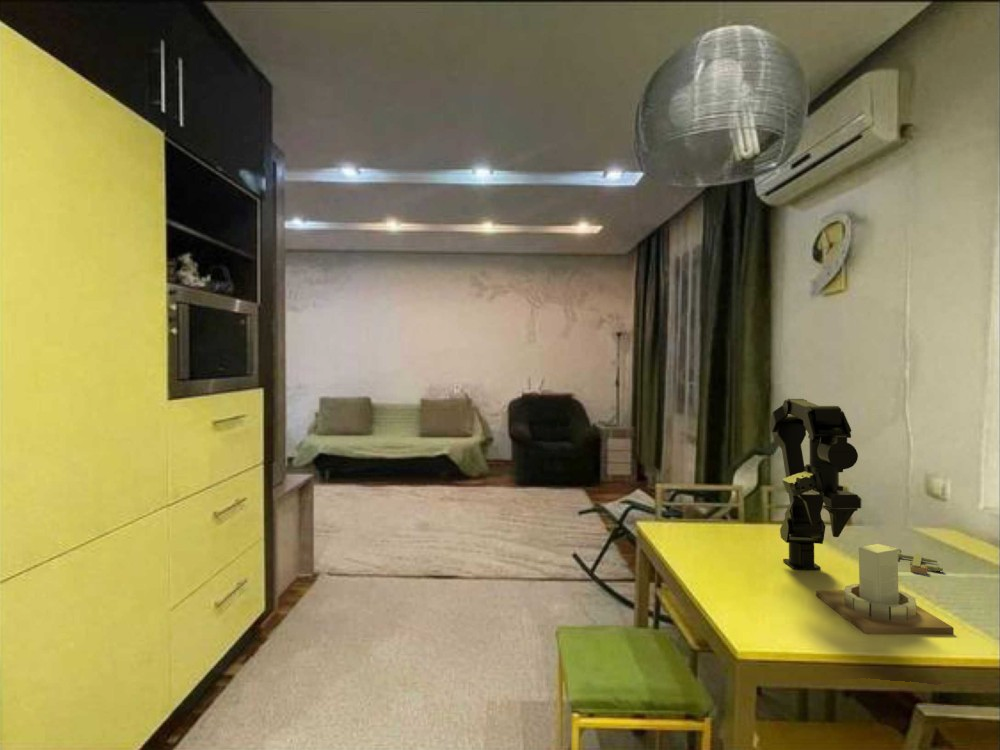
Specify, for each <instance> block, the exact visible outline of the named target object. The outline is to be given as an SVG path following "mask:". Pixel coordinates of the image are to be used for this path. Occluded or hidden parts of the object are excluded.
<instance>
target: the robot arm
mask: <svg viewBox="0 0 1000 750" xmlns="http://www.w3.org/2000/svg"><path fill="white" fill-rule="evenodd" d="M768 422H769V424H768V425H769V426H768V427H769V431H770V432H771V434H772V439H773V441H774V442H775V443H776V444H777V445H778V446H779V448H780V449H781V453H782V460H783V466H784V473H785V477H783V478H782V480H781V481H782V483H783V485H784V488H785V491H786V493H787V494H788V499H789V504H788V507H787V509H786V511H785V513H784V519H783V522H782V523H781V526H780V528H779V532H780V538H781V540H782V541H784V542H785V543H786V544H788V558H783V559H782V561H783V562H784V563H785V564H787V565H788V566H789V567H790V568H792V569H793V570H821V568H822V567H821V566H820V565H818V564H817V563H815V544H819V545H823V544H824V539H825V534H826V524H825V521H824V520H823V519H822V514H821V513H822V509H823V508H824V509H825V510H826V511H827V512H828V513H829V520H830V528H831V529H830V530H831V534H832V537H833V538H839V537H840V535H841V534H842V532H843V530H844V528H845V526H846V525H847V523H848V522H849V520H850V518H851V517H852V516H853V514H854V512H857V511H858V509H862V506H863V505H862V498H861V497H860V496H859V495H858V494H857V493H853V492H851V491H848V490H846V491H845V490H844V486H843V485H841V484H840V473H843V472H844V470H849V469H850V468H853V467H854V466H855V464H857V461H858V459H859V454H858V451H857V449H856V447H855V446H854V445H853V444H851V443H849V442H848V439H851V438H852V428H851V426H850V424H849V422H848V419H847V417H846V414H845V412H844V411H843V410H842V408H841V407H840V405H839V406H838V405H818V404H815V403H812V402H811V401H808V400H807V399H804V398H787V399H785V400H784V401H783V402H782V405H781V406H779V407H778V408H775V410H774V411H773V412H772V413H771V416H770V419H769V421H768ZM807 434H808V436H807ZM806 436H807V437H808V439H809V464H808V463H807V464H805V461H804V456H803V450H802V443H803V441H804V440H805V438H806Z"/></svg>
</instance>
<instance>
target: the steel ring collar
mask: <svg viewBox="0 0 1000 750" xmlns="http://www.w3.org/2000/svg"><path fill="white" fill-rule="evenodd" d="M843 590H844V604H845V605H846V606H848V607H849V608H851V609H852V610H854V611H856V612H859V613H861V614H864V615H867V616H871V617H875V618H880V619H886V620H889V619H890V620H910V619H912V618H915V617H916V605H917V600H916V597H914V596H912V595H911V594H909V593H907V592H905V591H903V590H900V589H898V593H899V605H886V604H880V603H875V602H870V601H867V600H864V599H862V598H860V586H859V583H853V584H848V585H846V586H844V589H843Z"/></svg>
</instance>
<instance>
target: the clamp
mask: <svg viewBox="0 0 1000 750" xmlns="http://www.w3.org/2000/svg"><path fill="white" fill-rule="evenodd" d="M897 550H898V561H899V560H900V559H909V560H912V561H911V562H910V564H909V565H910V572H911V573H913V572H915V573H914V574H918V573H922V574H921V575H923V574H927V575H928V573H929V570H930V571H932V572H936V571H943V572H944V570H943V569H944V567H943V566H937V565H929V564H923V563H922V562H927V563H938V560H935V559H931V558H926V557H923V554H921V553H914V554H913V555H907V554H902V550H901V549H900V548H898V549H897ZM928 569H929V570H928ZM927 572H928V573H927Z"/></svg>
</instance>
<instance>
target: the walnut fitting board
mask: <svg viewBox="0 0 1000 750" xmlns="http://www.w3.org/2000/svg"><path fill="white" fill-rule="evenodd" d="M815 596H816V597H817V598H818V599H820V600H821V601H823V602H824V603H825V604H826V605H828V606H829V607H830V608H831V609H833V610H834V611H835V612H837V613H838V614H839V615H840V616H842V617H843V618H844V619H846V620H847V621H848V622H849V623H851V624H852V625H853V626H855V627H856V628H857V629H859V630H860V631H861V632H863V633H864V635H865V634H866V635H867V634H869V635H870V634H872V635H876V634H877V635H880V634H881V635H897V634H899V635H900V634H902V635H905V634H906V635H954V634H955V633H954V627H953V626H952V625H951V624H949V623H947V622H945V621H944V620H942V619H941V618H938V617H937V616H935V615H933V614H931V613H930V612H928V610H925V609H923V608H922V607H920V606H919V605H917V604H916V617H915V618H912V619H910V620H890V619H889V620H886V619H880V618H875V617H871V616H867V615H864V614H861V613H859V612H856V611H854V610H852V609H851V608H849V607H848V606H846V605H845V604H844V589H816V590H815Z"/></svg>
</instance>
